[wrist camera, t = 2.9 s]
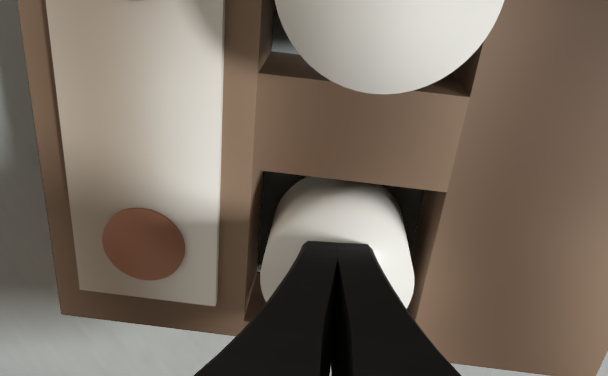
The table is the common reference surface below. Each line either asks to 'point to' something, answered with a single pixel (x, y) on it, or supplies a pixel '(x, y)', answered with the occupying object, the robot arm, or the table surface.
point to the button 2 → (338, 229)
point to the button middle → (387, 39)
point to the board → (326, 169)
